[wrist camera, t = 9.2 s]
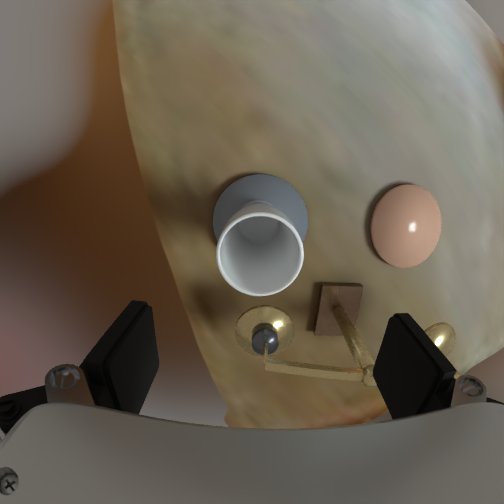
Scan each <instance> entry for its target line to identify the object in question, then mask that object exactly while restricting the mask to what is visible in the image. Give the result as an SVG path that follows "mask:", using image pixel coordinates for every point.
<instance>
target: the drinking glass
mask: <svg viewBox="0 0 504 504" xmlns="http://www.w3.org/2000/svg"><path fill="white" fill-rule="evenodd" d="M303 258H304V250H303V244H302V241H301V238H300V236H299V233H298V231H297V229H296V227H295V226H294V224H293V223H292V221H291V220H290V219H289V218H288V217H287V216H286V215H285V214H284V213H283V212H282V211H280V210H279V209H277V208H275V207H274V206H273V205H272V204H270V203H268V202H266V201H262V200H255V201H251V202H249V203H247V204H245V205H244V206H243V207H242V208H241V209H240V210H238V211H237V212H236V213H235V214H233V216H232V217H231V218H230V219H229V220H228V221H227V223H226V224H225V226H224V228H223V230H222V232H221V234H220V237H219V240H218V243H217V248H216V260H217V265H218V268H219V270H220V273H221V274H222V276H223V278H224V279H225V280H226V281H227V282H228V283H229V284H230V285H231V286H232V287H233V288H235V289H236V290H238V291H240V292H242V293H245V294H248V295H253V296H267V295H272V294H275V293H277V292H280V291H282V290H283V289H285V288H286V287H288V286H289V285H290V284H291V283H292V282H293V281H294V280H295V278H296V277H297V275H298V274H299V272H300V270H301V267H302V263H303Z"/></svg>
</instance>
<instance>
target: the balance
mask: <svg viewBox="0 0 504 504" xmlns="http://www.w3.org/2000/svg"><path fill="white" fill-rule="evenodd" d="M362 291H363V286H362V285H361V284H354V283H326V282H321V287H320V294H319V300H318V306H317V312H316V318H315V323H314V329H313V332H314V335H343V336H344V338H345V340H346V342H347V345H348V347H349V349H350V351H351V353H352V355H353V357H354V360H355V362H356V364H357V366H358V368H359V369H356V368H344V367H334V366H324V365H315V364H307V363H299V362H292V361H285V360H278V359H271V358H268V356H272V355H275V354H278V353H280V352H282V351H283V350H284V349H286V348H287V347H288V346H289V344H290V343H291V341H292V339H293V335H294V327H293V323H292V320H291V318H290V317H289V316H288V314H287V313H286V312H284V311H283V310H282V309H280V308H277V307H274V306H269V305H261V306H256V307H253V308H250V309H248V310H247V311H245V312H244V313H243V314H242V315H241V316H240V317H239V319H238V321H237V323H236V328H235V336H236V340H237V342H238V344H239V345H240V346H241V347H242V348H243V349H244V350H245V351H247V352H248V353H250V354H253V355H256V356H263V364H264V365H265V366H266V367H265V370H269V371H275V372H282V373H289V374H296V375H303V376H312V377H320V378H330V379H341V380H353V381H361V382H362V383H363V384H364V385H365V386H368V387H373V386H376V385H377V384H376V382H375V380H374V378H373V367H374V365H375V363H374V361H373V359H372V357H371V355H370V354H369V352H368V350H367V348H366V346H365V344H364V343H363V341H362V339H361V337H360V336H359V334H358V332H357V330H356V328H355V327H354V326H355V322H356V318H357V314H358V309H359V305H360V300H361V296H362ZM424 332H425V333H426V334H427V335H428V336H429V338H430V339H431V340H432V341H433V342H434V343H435V345H436V346H437V347H438V348H439V349H440V351H441V352H442V353H443V354H444V355H445V357H447V356H448V355H449V354H450V352H451V350H452V348H453V346H454V344H455V339H456V334H455V330H454V329H453V327H452V326H450V325H449V324H448V323H437V324H434V325H432V326H430V327H429V328H427V329H426V330H425V331H424ZM459 376H460V374H459V372H458V371H456V373H455V375H454V378H455V379H457V378H458V377H459Z"/></svg>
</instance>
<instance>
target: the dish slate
mask: <svg viewBox="0 0 504 504" xmlns="http://www.w3.org/2000/svg"><path fill="white" fill-rule="evenodd" d="M255 200H262V201H266V202H268V203H270V204H272V205H273V206H274V207H275V208H277V209H279V210H280V211H282V212H283V213H284V214H285V215H286V216H287V217H288V218H289V219H290V220H291V221H292V223H293V224H294V226H295V227H296V229H297V231H298V233H299V236H300V238H301V241H302V243H303V241H304V239H305V236H306V233H307V227H308V214H307V210H306V206H305V204H304V201H303V199H302V198H301V196H300V194H299V193H298V192H297V191H296V190H295V189H294V188H293V186H291V185H290V184H289V183H287V182H286V181H284V180H282V179H280V178H278V177H275V176H271V175H265V174H256V175H250V176H246V177H243V178H241V179H239V180H237V181H235V182H234V183H232V184H231V185H230V186H228V187H227V188H226V189H225V190H224V192H223V193H222V194H221V196H220V197H219V199H218V201H217V203H216V206H215V209H214V213H213V229H214V234H215V237H216V239H217V241H218V240H219V237H220V234H221V232H222V230H223V228H224V226H225V224H226V223H227V221H228V220H229V219H230V218H231V217H232V216H233V214H235V213H236V212H237V211H238V210H240V209H241V208H242V207H243V206H244V205H245V204H247V203H249V202H251V201H255Z"/></svg>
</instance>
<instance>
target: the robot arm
mask: <svg viewBox="0 0 504 504" xmlns="http://www.w3.org/2000/svg"><path fill="white" fill-rule="evenodd" d="M158 368H159V358H158V351H157V345H156V336H155V329H154V320H153V312H152V307H151V306H148V304H147V302H143V301H135V300H133V301H131V302H130V303H129V304H128V306H127V307H126V308H125V309H124V310H123V312H122V313H121V314H120V316H119V317H118V318H117V319H116V320H115V321H114V323H113V324H112V325H111V326H110V327H109V329H108V330H107V331H106V332H105V334H104V335H103V336H102V337H101V339H100V340H99V341H98V342H97V344H96V345H95V346H94V347H93V349H92V350H91V352H90V353H89V354H88V355H87V356H86V358H85V359H84V361H83V362H82V363H81V365H80V366H79V367H78V366H76V365H73V364H61V365H58V366H55V367H54V368H52V369H51V370H49V372H48V373H47V374H46V376H45V385H44V386H40V387H36V388H33V389H29V390H25V391H21V392H17V393H13V394H8V395H5V396H2V397H1V398H0V504H504V403H501V402H499V401H496V400H493V399H490V398H487V389H486V386H485V385H484V384H483V382H482V381H481V380H479V379H478V378H476V377H474V376H470V375H462V376H459V377H458V378H457V379H455V378H454V375H455V373H456V371H457V370H456V369H455V368H454V367H453V365H452V364H451V363H450V362H449V360H448V359H447V358H446V357H445V355H444V354H443V353H442V352H441V351H440V349H439V348H438V347H437V346H436V345H435V343H434V342H433V341H432V340H431V339H430V338H429V336H428V335H427V334H426V333H425V332H424V331H423V329H422V328H421V327H420V326H419V325H418V324H417V323H416V321H415V320H414V319H413V318H412V317H411V316H410V315H409V314H408V313H396V314H394V315H393V317H391V318H390V319H389V321H388V325H387V328H386V331H385V335H384V338H383V341H382V344H381V347H380V350H379V353H378V356H377V359H376V362H375V365H374V367H373V378H374V380H375V382H376V384H377V386H378V388H379V390H380V392H381V395H382V397H383V399H384V401H385V403H386V405H387V408H388V410H389V412H390V414H391V416H392V419H393V420H387V421H380V422H374V423H366V424H358V425H348V426H337V427H324V428H303V429H259V428H237V427H223V426H212V425H203V424H194V423H187V422H180V421H173V420H167V419H161V418H155V417H149V416H144V415H140V414H139V412H140V410H141V408H142V405H143V403H144V401H145V398H146V396H147V394H148V391H149V389H150V386H151V384H152V382H153V380H154V377H155V375H156V373H157V371H158Z"/></svg>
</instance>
